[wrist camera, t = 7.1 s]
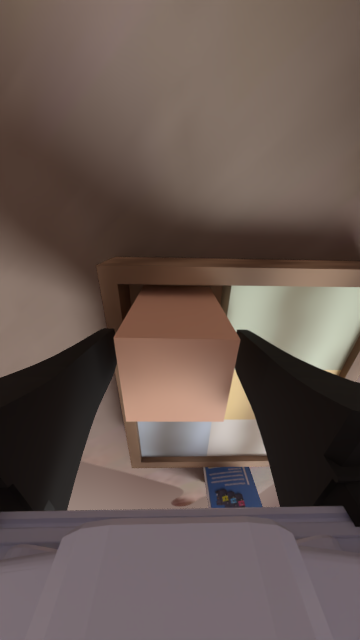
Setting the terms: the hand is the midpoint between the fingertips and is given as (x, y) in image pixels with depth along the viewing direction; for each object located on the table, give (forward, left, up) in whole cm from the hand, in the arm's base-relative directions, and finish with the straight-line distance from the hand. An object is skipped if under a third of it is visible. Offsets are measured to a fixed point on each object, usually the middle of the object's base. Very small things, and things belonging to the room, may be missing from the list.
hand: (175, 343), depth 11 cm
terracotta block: (0, 0, -3) cm, 4 cm away
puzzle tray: (-5, +6, -4) cm, 9 cm away
